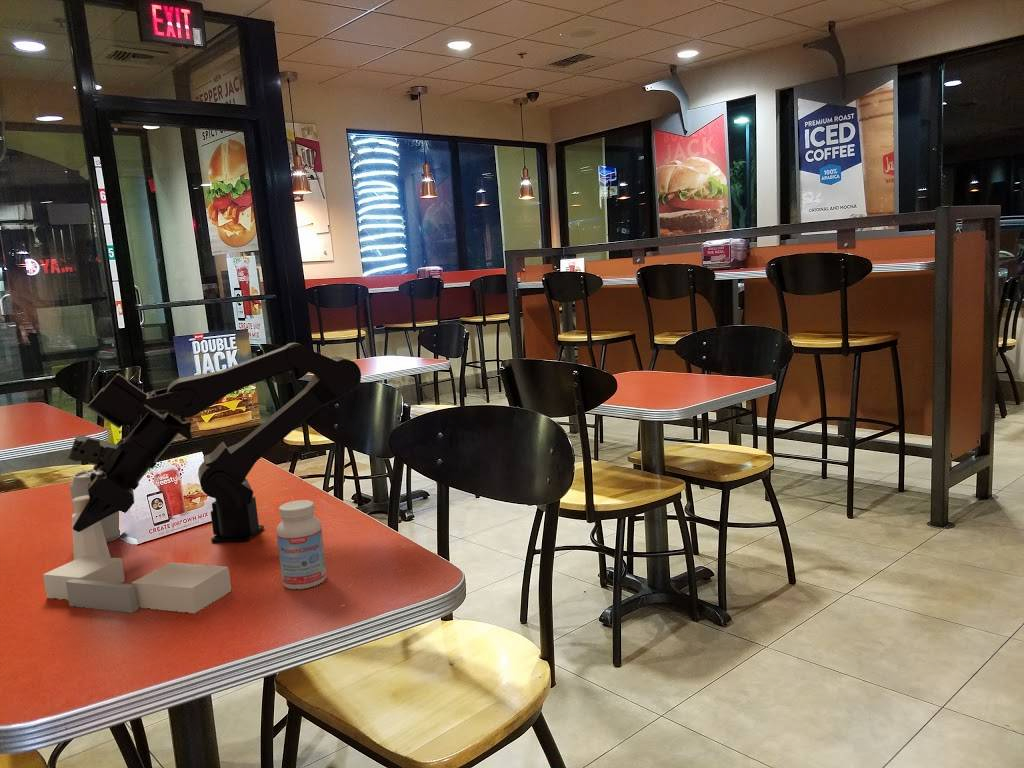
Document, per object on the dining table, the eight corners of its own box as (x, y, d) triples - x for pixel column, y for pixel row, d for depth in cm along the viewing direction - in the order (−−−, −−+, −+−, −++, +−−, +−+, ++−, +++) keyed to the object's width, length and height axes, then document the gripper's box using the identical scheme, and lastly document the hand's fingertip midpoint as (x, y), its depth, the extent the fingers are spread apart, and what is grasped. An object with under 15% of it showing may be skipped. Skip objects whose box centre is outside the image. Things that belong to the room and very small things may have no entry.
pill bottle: (282, 594, 103) (272, 514, 101) (283, 577, 108) (274, 501, 107) (328, 586, 104) (319, 507, 102) (326, 570, 110) (318, 495, 108)
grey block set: (231, 590, 105) (228, 566, 104) (186, 618, 97) (183, 593, 96) (88, 577, 113) (85, 555, 113) (37, 602, 106) (33, 578, 105)
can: (91, 549, 126) (79, 479, 124) (71, 541, 131) (59, 474, 129) (135, 534, 132) (125, 468, 130) (115, 528, 137) (104, 463, 135)
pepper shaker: (68, 574, 115) (56, 504, 114) (80, 561, 121) (69, 494, 119) (106, 569, 116) (95, 500, 115) (117, 556, 122) (106, 490, 120)
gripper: (101, 407, 125) (34, 484, 122) (95, 425, 108) (18, 514, 105) (160, 445, 130) (97, 520, 127) (163, 468, 113) (91, 555, 110)
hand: (76, 526), depth 117 cm, fingers closed on pepper shaker, 4 cm apart
